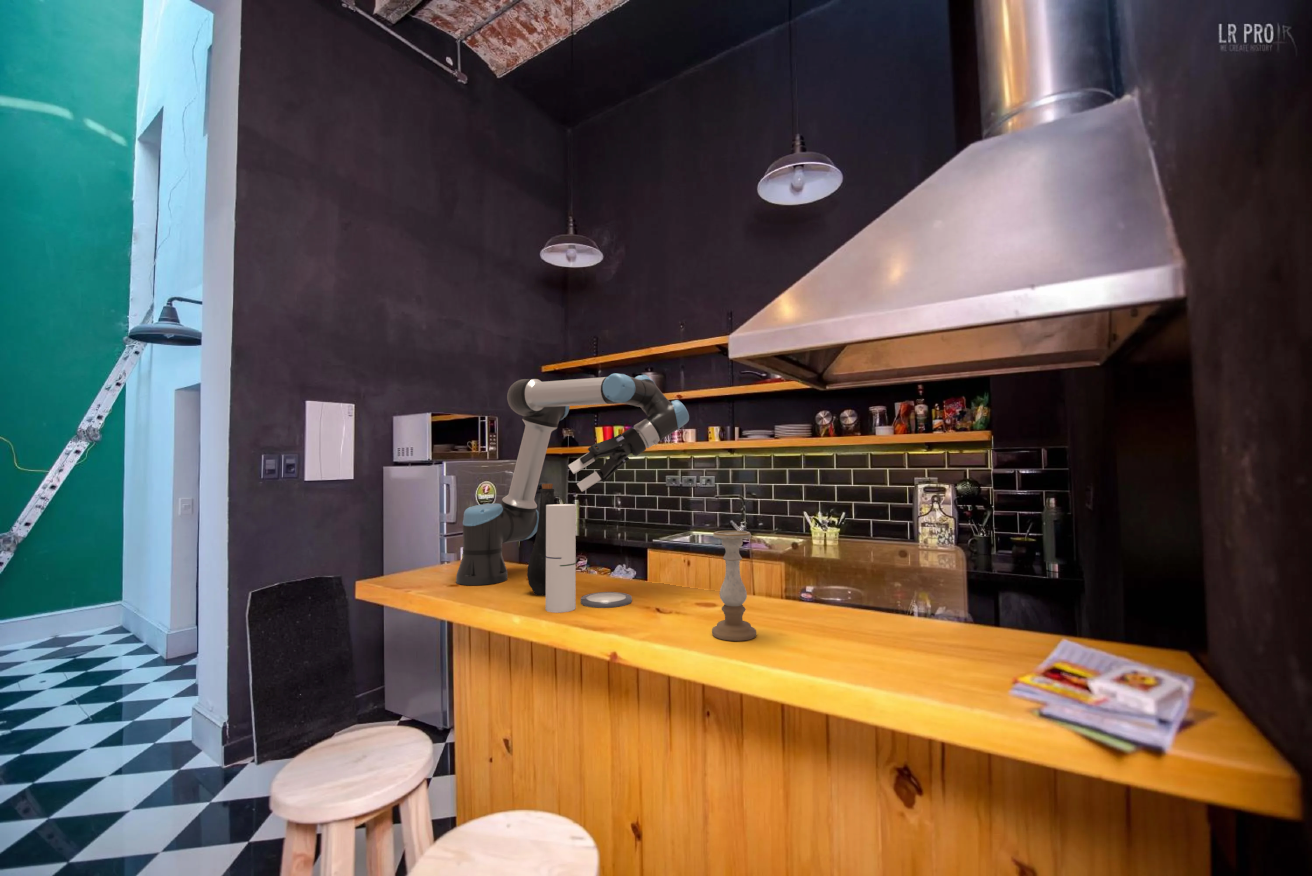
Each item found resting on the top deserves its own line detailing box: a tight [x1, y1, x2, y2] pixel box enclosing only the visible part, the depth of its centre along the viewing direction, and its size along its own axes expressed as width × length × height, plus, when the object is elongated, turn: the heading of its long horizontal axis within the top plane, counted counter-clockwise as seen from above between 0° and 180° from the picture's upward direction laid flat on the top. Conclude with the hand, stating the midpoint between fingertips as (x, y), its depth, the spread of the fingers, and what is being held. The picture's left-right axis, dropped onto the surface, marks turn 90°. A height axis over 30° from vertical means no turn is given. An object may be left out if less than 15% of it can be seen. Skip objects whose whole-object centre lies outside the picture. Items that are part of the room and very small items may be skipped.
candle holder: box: [711, 530, 757, 642], centre depth 106 cm, size 9×9×20 cm
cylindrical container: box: [545, 503, 577, 614], centre depth 128 cm, size 7×7×25 cm
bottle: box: [526, 483, 555, 597], centre depth 146 cm, size 11×11×30 cm
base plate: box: [580, 591, 633, 609], centre depth 134 cm, size 13×13×1 cm
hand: (575, 479), depth 143 cm, fingers open, 13 cm apart
